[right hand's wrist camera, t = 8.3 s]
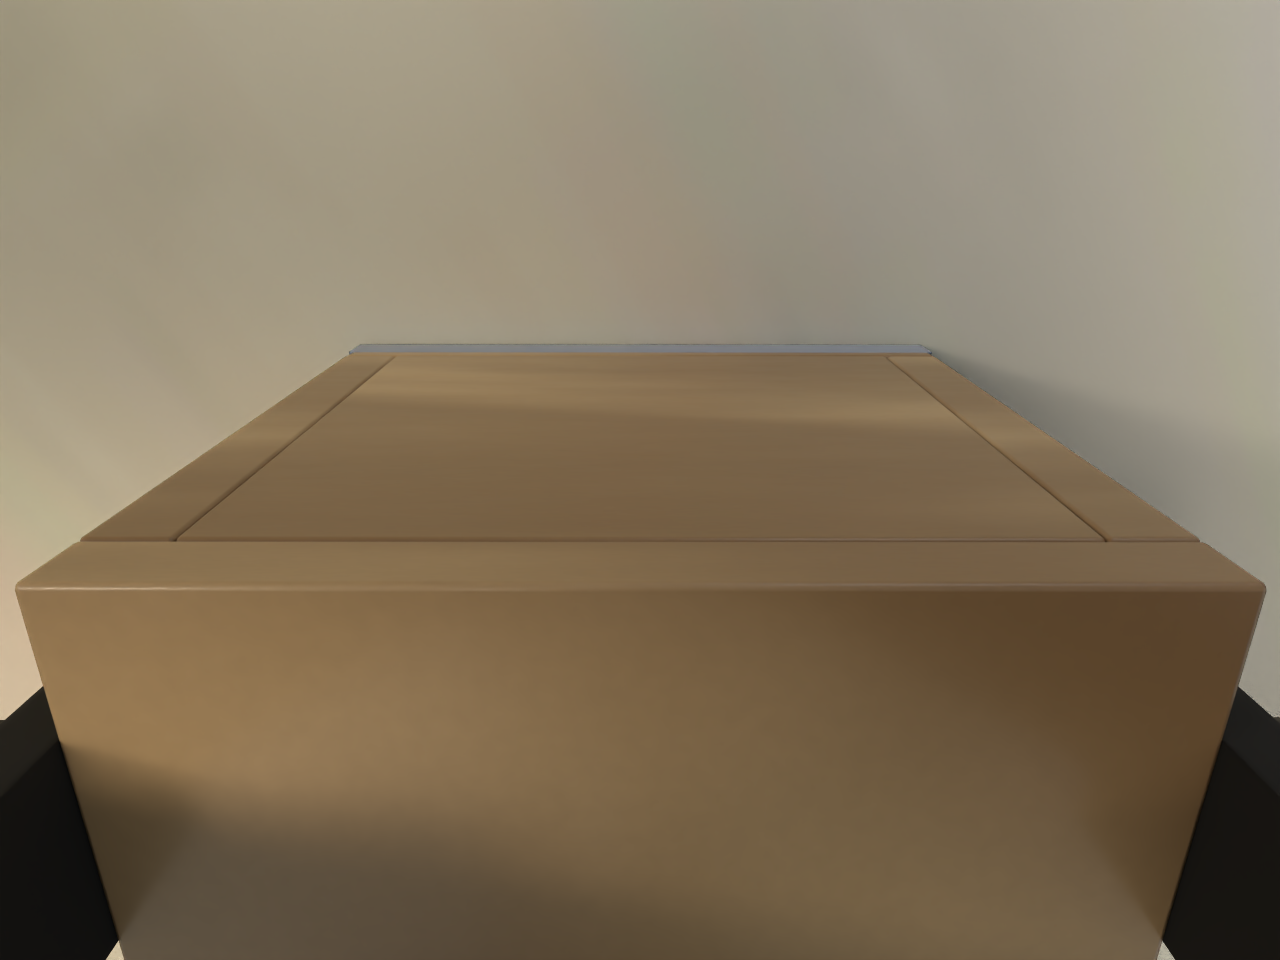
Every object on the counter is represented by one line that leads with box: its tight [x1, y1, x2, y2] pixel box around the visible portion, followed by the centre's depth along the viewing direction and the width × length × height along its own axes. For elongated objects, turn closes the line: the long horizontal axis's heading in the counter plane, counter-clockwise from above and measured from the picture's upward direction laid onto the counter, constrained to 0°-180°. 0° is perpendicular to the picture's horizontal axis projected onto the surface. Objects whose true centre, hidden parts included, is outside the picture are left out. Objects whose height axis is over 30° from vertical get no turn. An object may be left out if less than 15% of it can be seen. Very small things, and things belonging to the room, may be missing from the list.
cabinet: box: [15, 344, 1266, 960], centre depth 16 cm, size 17×12×10 cm
